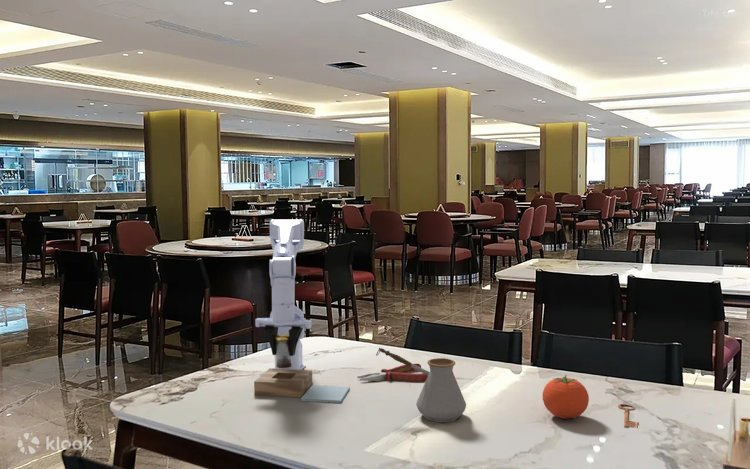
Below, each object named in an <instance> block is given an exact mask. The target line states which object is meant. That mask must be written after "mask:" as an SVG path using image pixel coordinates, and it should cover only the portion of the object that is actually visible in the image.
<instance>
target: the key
mask: <svg viewBox="0 0 750 469" xmlns="http://www.w3.org/2000/svg"><path fill="white" fill-rule="evenodd" d="M617 407H618V408H619V409H620V410H624V412H623V413H624V422H623V428H626V429H628V428H634V427H635V428H636V429H639V428H638V426H640V424H639V423H640V422H636V421H633V420H629V417H630V416H629V414H630V413H629V412H630V411H635V410H636V407H634V406H632V405H630V404H625V403H624V404H623V403H621V404H618V406H617Z"/></svg>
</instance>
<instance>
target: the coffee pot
mask: <svg viewBox="0 0 750 469" xmlns="http://www.w3.org/2000/svg"><path fill="white" fill-rule="evenodd" d="M380 353H382V354H385V356H387V357H388V356H389V357H390V358H391V359H393V360H394V361H397V362H398V363H401V364H402V365H408V366H410V367H412V368H414V369H416V370H418V371H417V372H420V373H424V374H425V375H427V376H428V377H427V379H426V381H424V384H423V386H422V389H421V391H420V393H419V395H418V398H417V400H416V403H415V405H416V408H417V410H418V411H419V414H421V415H422V416H424V418H425V419H426V420H428V421H432V422H437V423H450V422H454V421H456V420H457V419H459V418H458V417H461V415H462V414H464V412H465V410H466V408H467V403H466V400H465V397H464V396H463V393H462V391H461V388H460V386H459V383H458V381H457V379H456V376H455V374H454V371H453V369H454V366H456V361H455V360H454V359H451V358H446V357H441V358H431V359H429V360H427V365H428V366H429V371H428V370H426V369H424V368H422V367H421V368H420V367H418V366H416V365H414V364H415V363H412V362H410V361H409V360H407V359H406V358H403V357H402V356H400V355H398V354H396V353H392V352H390V350H386V349H384V348H382V347H379V348H378V349H377V352H376V354H375V356H379V354H380Z"/></svg>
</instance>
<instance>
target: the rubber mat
mask: <svg viewBox="0 0 750 469" xmlns="http://www.w3.org/2000/svg"><path fill="white" fill-rule="evenodd" d="M309 387H310V388H308V389H307V390H306V391H305V392H304V395H302V396H301V397H300V398H301V399H300V401H301V402H312V403H313V402H315V403H334V404H341V403H342V401H343V400H344V399H345V397H346V396H347V395H348V393H349V391H350V389H351V387H350V386H339V385H338V386H337V385H318V384H317V385H316V384H311V385H310V386H309Z"/></svg>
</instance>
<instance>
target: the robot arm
mask: <svg viewBox="0 0 750 469" xmlns="http://www.w3.org/2000/svg"><path fill="white" fill-rule="evenodd" d="M269 238H270V245H271V248H272V250H273V253H272V259H269V265H268V266H269V278H270V286H271V311H270V314H269V317H261V318H260V317H257V318H255V320H254V321H255V327H256V328H260V327H264V329H263V333H264V335H265V337H266V339H267V341H268V343H269V346H270V348H271V353H272V356H274V368H273V369H294V370H304V368H305V367H307V366H306V364H305V363H304V362H303V343H302V341H301V340H302V339H303V338H305V329H306V330H307V329H308V330H310V329H311V328H312V319H305V315H304V313H303V310H302V309H300V308H299V307H297V306H296V305H295V299H296V298H295V296H296V295H295V288H296V287H295V285H296V283H295V282H296V280H295V278H296V275H297V274H296V273H297V272H296V270H297V268H296V266H297V264H296V257H297V254H298V252H299V251H301V250H303V248H304V247H303V246H304V244H305V243H304V241H305V240H304V238H305V222H304V220H303V218H300V219H273V218H272V219H271V220H269ZM280 334H289V336H290V356H292V366H291V367H289V368H277V367H276V340H275V336H276V335H280Z"/></svg>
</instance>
